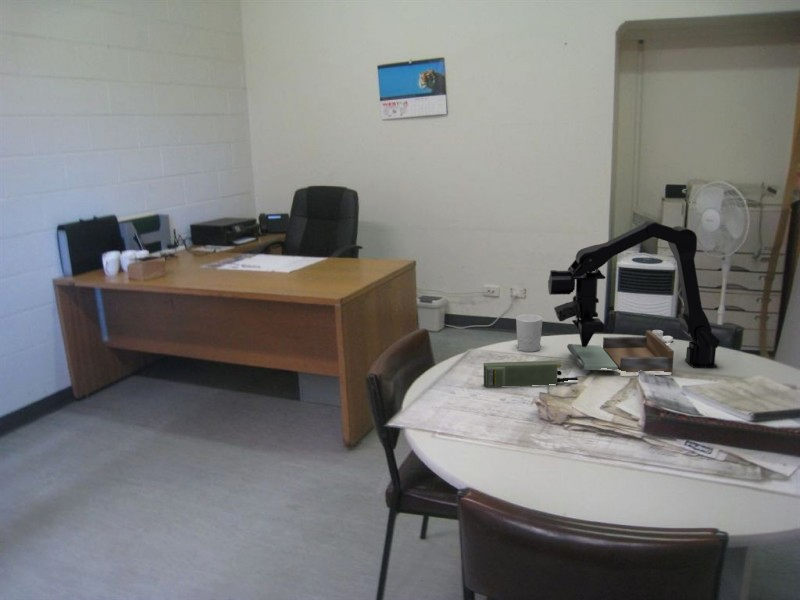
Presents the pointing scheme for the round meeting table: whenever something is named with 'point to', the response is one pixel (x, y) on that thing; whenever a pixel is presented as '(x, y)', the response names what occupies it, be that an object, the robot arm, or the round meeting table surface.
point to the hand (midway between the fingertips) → (584, 346)
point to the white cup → (529, 332)
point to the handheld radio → (522, 373)
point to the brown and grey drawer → (639, 353)
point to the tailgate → (591, 357)
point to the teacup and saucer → (665, 338)
